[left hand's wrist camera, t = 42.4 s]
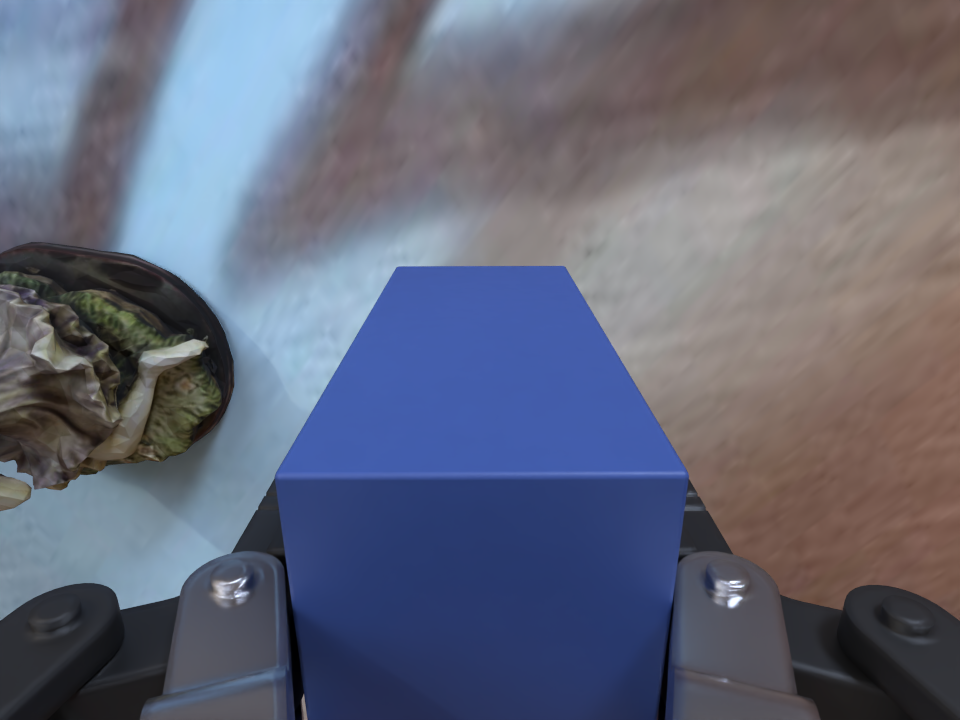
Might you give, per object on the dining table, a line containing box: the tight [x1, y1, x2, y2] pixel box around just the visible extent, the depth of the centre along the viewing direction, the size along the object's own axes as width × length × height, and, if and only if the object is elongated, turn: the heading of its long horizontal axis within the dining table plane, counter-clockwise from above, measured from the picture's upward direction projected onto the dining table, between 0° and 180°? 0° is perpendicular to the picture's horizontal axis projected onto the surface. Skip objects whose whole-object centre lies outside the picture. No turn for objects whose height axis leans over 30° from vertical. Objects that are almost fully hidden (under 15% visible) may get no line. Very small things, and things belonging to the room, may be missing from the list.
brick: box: [275, 266, 689, 720], centre depth 13 cm, size 4×6×11 cm
